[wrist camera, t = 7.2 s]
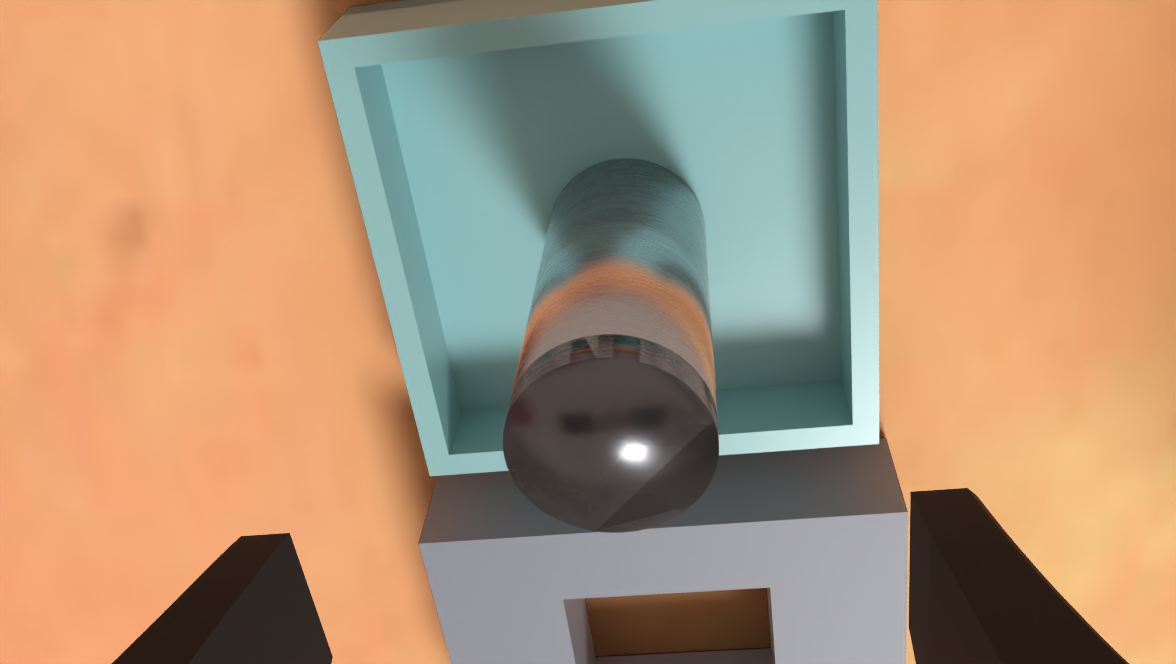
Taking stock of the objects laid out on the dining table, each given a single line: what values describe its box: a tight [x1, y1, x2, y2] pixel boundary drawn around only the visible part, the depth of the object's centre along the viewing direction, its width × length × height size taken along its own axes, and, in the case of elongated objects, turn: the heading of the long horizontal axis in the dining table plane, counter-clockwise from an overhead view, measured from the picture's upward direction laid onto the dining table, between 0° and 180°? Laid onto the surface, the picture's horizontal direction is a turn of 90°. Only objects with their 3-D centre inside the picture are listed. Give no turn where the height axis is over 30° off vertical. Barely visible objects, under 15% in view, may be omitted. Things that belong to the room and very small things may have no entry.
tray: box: [318, 0, 879, 476], centre depth 21 cm, size 9×9×2 cm
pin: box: [503, 158, 719, 533], centre depth 18 cm, size 3×3×7 cm
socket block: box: [419, 438, 908, 664], centre depth 26 cm, size 10×8×2 cm
